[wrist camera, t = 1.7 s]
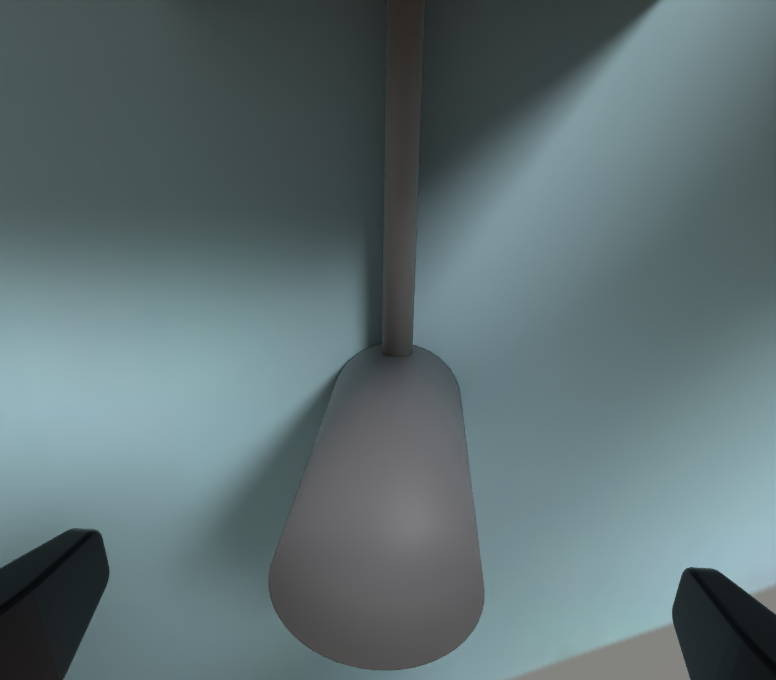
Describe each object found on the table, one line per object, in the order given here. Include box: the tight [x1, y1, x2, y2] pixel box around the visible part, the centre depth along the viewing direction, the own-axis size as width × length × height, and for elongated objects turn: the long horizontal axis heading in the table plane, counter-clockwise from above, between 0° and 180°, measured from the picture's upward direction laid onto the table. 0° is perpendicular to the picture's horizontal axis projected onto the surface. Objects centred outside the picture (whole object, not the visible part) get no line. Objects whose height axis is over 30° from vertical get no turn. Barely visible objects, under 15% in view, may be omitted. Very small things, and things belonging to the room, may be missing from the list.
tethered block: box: [269, 0, 484, 670], centre depth 8 cm, size 6×19×6 cm, turn 179°
